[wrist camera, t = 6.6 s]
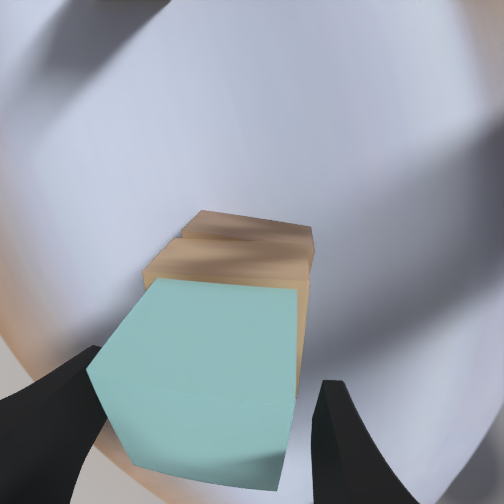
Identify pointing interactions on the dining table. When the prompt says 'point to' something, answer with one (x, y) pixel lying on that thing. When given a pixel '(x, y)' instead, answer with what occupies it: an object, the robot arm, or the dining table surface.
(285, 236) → the brown wooden block
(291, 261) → the slab upper
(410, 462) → the dining table surface
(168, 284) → the cube
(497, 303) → the dining table surface
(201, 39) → the dining table surface
